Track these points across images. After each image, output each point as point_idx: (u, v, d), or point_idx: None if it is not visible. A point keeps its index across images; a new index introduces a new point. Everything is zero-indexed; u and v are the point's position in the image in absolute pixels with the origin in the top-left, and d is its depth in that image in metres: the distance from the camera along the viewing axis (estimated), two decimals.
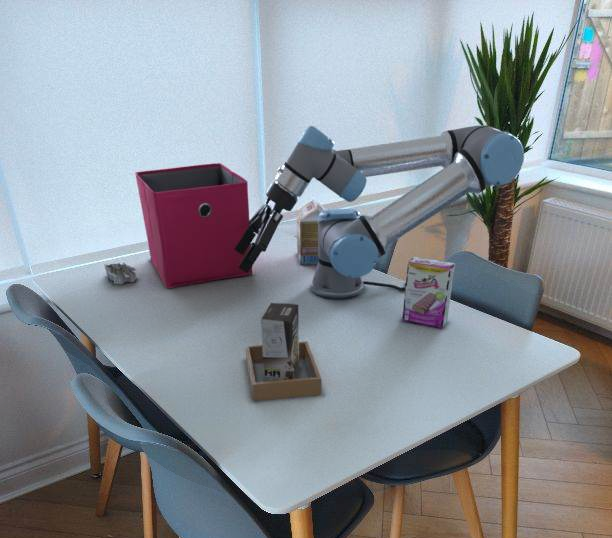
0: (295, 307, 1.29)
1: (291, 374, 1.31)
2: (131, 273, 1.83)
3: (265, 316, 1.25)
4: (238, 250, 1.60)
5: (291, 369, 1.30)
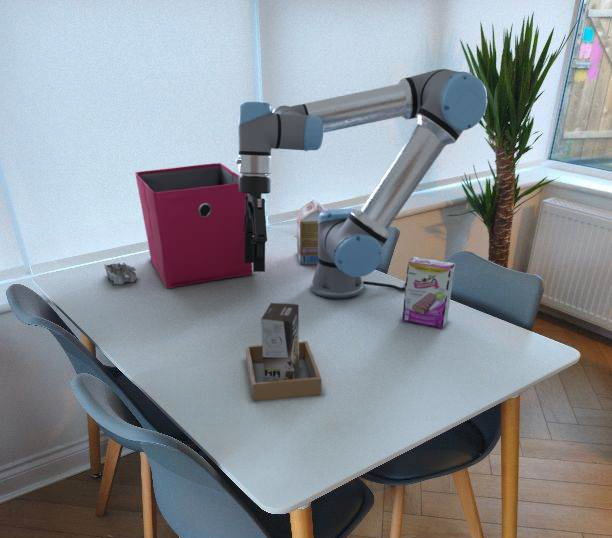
0: (295, 307, 1.29)
1: (291, 374, 1.31)
2: (131, 273, 1.83)
3: (265, 316, 1.25)
4: (249, 261, 1.55)
5: (291, 369, 1.30)
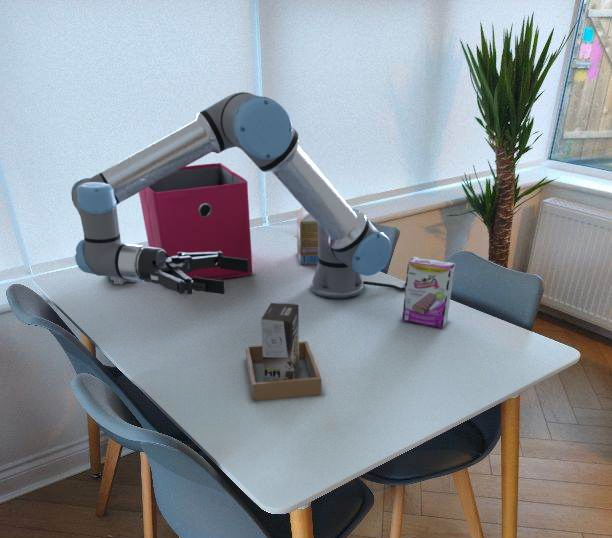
0: (295, 307, 1.29)
1: (291, 374, 1.31)
2: None
3: (265, 316, 1.25)
4: (245, 267, 1.32)
5: (291, 369, 1.30)
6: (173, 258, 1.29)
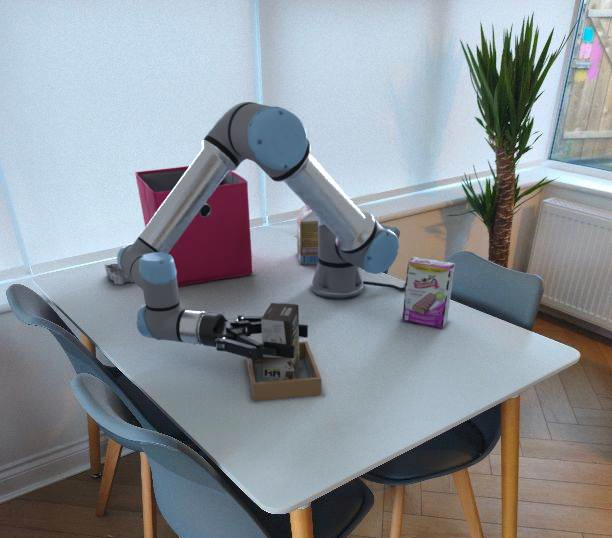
0: (295, 307, 1.29)
1: (291, 374, 1.31)
2: None
3: (265, 316, 1.25)
4: (304, 333, 1.34)
5: (291, 369, 1.30)
6: (232, 323, 1.33)
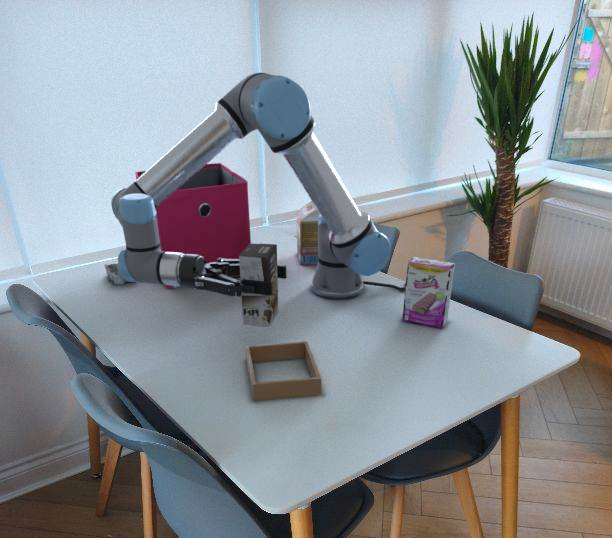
0: (273, 246, 1.31)
1: (270, 313, 1.33)
2: None
3: (243, 253, 1.27)
4: (283, 274, 1.36)
5: (269, 308, 1.32)
6: (212, 264, 1.35)
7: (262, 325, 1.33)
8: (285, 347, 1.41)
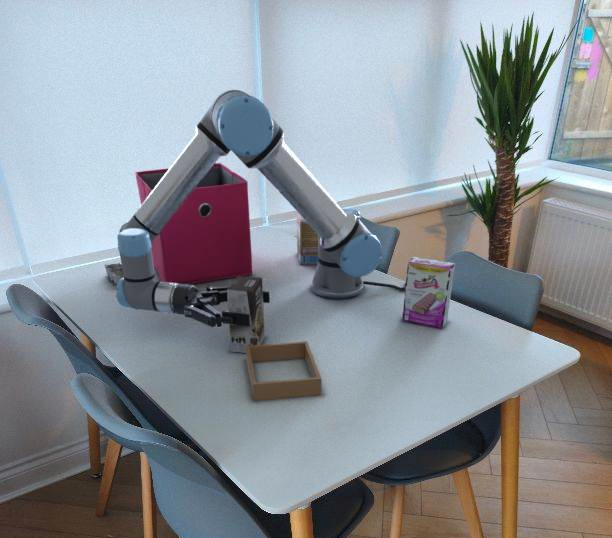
0: (259, 280, 1.42)
1: (255, 341, 1.44)
2: None
3: (231, 287, 1.39)
4: (266, 299, 1.48)
5: (255, 336, 1.43)
6: (203, 293, 1.46)
7: None
8: (285, 347, 1.41)
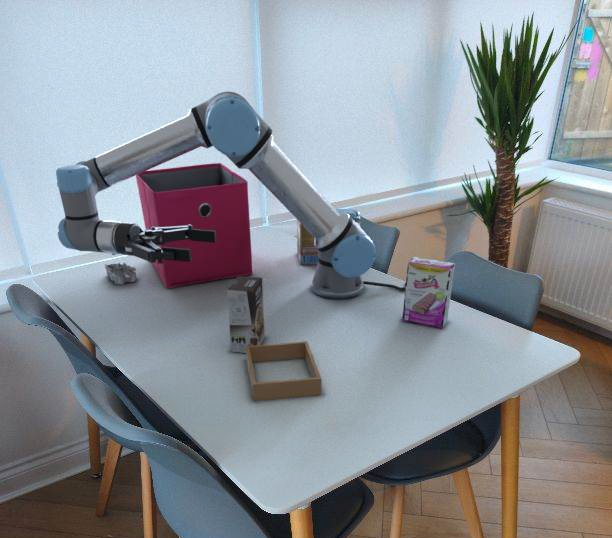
0: (259, 280, 1.42)
1: (255, 341, 1.44)
2: (131, 273, 1.83)
3: (231, 287, 1.39)
4: (213, 238, 1.44)
5: (255, 336, 1.43)
6: (146, 232, 1.42)
7: None
8: (285, 347, 1.41)
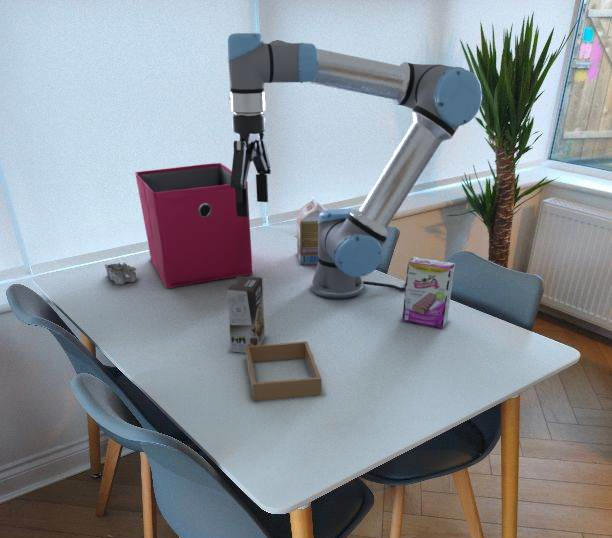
0: (259, 280, 1.42)
1: (255, 341, 1.44)
2: (132, 273, 1.83)
3: (231, 287, 1.39)
4: (260, 199, 1.52)
5: (255, 336, 1.43)
6: (258, 143, 1.40)
7: None
8: (285, 347, 1.41)
